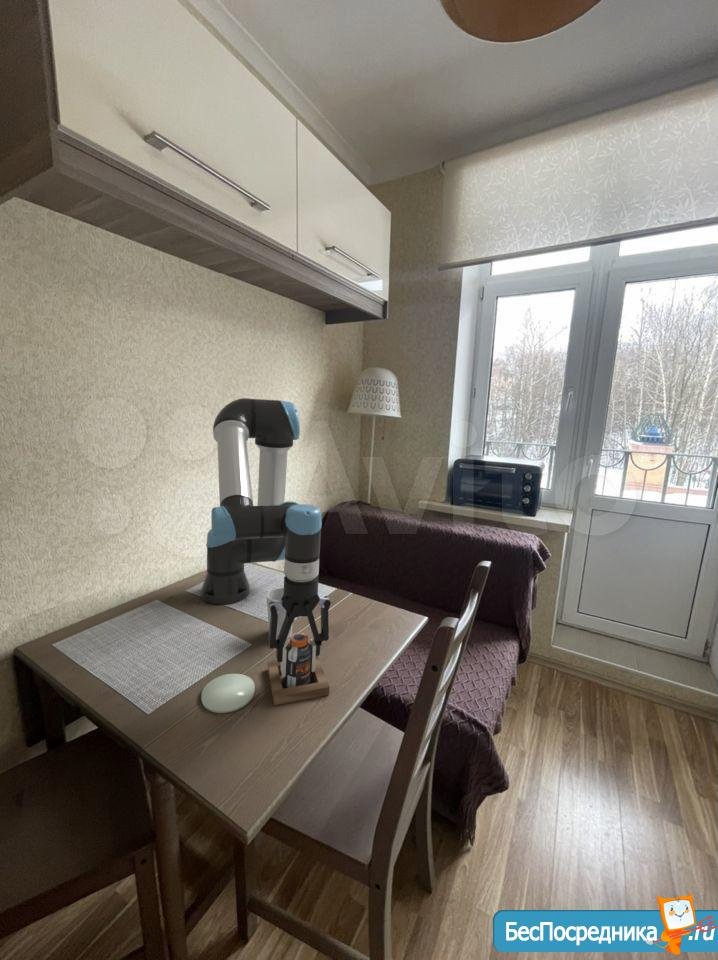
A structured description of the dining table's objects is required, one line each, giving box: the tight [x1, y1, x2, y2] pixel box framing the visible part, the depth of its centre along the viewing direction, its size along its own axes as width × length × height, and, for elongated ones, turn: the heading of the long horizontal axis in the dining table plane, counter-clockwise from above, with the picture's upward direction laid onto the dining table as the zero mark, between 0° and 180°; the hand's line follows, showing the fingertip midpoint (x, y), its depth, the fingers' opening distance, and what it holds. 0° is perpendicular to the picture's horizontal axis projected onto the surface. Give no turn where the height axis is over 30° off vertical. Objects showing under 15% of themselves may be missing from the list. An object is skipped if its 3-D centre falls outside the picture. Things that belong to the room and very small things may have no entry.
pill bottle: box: [283, 632, 312, 688], centre depth 88 cm, size 6×6×11 cm
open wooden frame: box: [267, 656, 330, 706], centre depth 89 cm, size 12×12×2 cm
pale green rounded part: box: [201, 673, 256, 714], centre depth 84 cm, size 11×11×1 cm
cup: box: [266, 587, 294, 641], centre depth 106 cm, size 8×8×12 cm
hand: (297, 670), depth 88 cm, fingers closed on pill bottle, 6 cm apart
